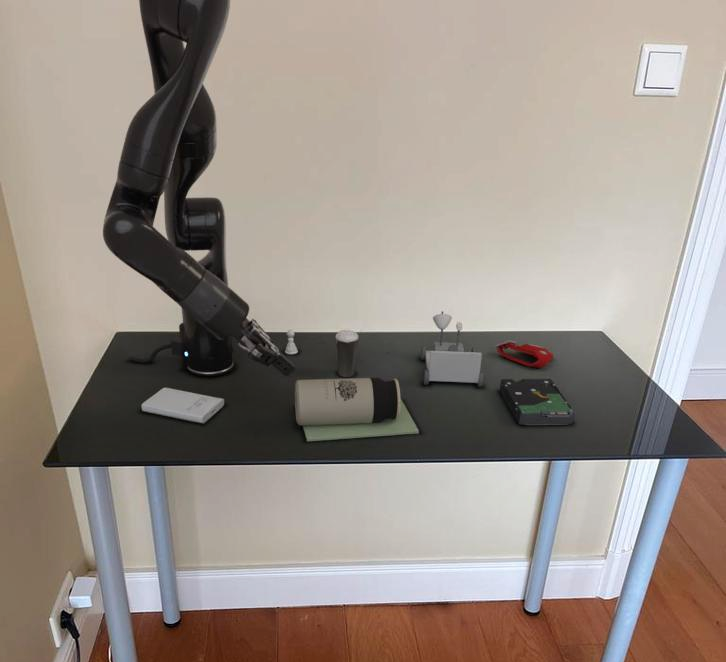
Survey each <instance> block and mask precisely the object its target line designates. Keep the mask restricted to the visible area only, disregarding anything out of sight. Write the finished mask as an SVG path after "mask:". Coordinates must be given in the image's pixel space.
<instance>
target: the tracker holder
mask: <svg viewBox="0 0 726 662" xmlns="http://www.w3.org/2000/svg"><path fill="white" fill-rule="evenodd" d="M516 344H517V342H516V341H514V340H510V339H509V340H504V341H501V342H499V343H497V344H495V345H494V347H495V348H496V349H497V352H498V353H499V354H500V355H501V356H503V357H504V358H506V359H508V360H510V361H513V362H514V363H517V364H518V363H519V365H520V364H521V365H523V366H525V367H530V368H536V369H542V368H544V367H545V366H547V365H548V363H550V361H551V360H552V359H554V354H553V353H552V352H549V350H548V349H547V348H546V347H543V346H541V345H539V344H534V343H524V344H522V345H516ZM508 348H509V349H510V350H513V351H515V352H519V353H523V354H525V355H530V356H533V357H535V358H536V359H537V360H536V361H534V362H533V363H532V362H529V361H525V360H523V359H520V358H518V357H514V356H512V355H511V354H509V353H507V352H506V351H505V350H507V349H508Z"/></svg>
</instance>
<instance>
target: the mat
mask: <svg viewBox="0 0 726 662" xmlns="http://www.w3.org/2000/svg"><path fill="white" fill-rule="evenodd" d="M301 426H302V429H303V432H304V435H305V439H306V442H318V441H319V442H321V441H332V440H335V441H336V440H346V439H359V438H360V439H361V438H375V437H387V436H388V437H389V436H401V435H402V436H403V435H415V434H420V430H419V429H418V427H417V425H416V422H415V421H414V419H413V418H412V416H411V414H410V412H409V411H408V409H407V407H406V405H405V403H404V402H403V400H402V399H401V407H400V416H399V419H398V420H397V421H395V420H394V419H385V420H383V421H382V422H380V423H357V424H329V425H301Z"/></svg>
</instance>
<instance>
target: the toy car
mask: <svg viewBox="0 0 726 662" xmlns="http://www.w3.org/2000/svg"><path fill="white" fill-rule="evenodd" d="M440 312H441V313H439V314H438V313H437V314H435V315H433V316H432V320H433V322H434V324H435V326H436V327H437V328H438V329H439V330H440V339H439V341H434V343H433V348H434V350H427V346H426V345H421V349H420V360H421V361H425V366H426V369H424V370H423V385H424V386H429V384H430V382H446V383H447V382H450V383H451V382H452V383H454V382H455V383H473V384H474V383H475V384H476V386H477V387H478V388H483V386H484V377H485V376H484V372H483V371H481V366H482V357H483V354H482V352H478V349H477V347H472V348H471V351H465V349H464V344H463V343H462V342H460V332H461V331H463V323H462V322H461V321H460V322H459V321H456V325H455V328H456V331H457V335H456V342H446V341H443V334H444V330H446V329H447V328H448V326H449V325H450V323H451V321H452V319H453V317H452V315H450V314H446V313H444V311H442V310H441V311H440Z"/></svg>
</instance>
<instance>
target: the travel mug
mask: <svg viewBox="0 0 726 662" xmlns="http://www.w3.org/2000/svg"><path fill="white" fill-rule="evenodd" d="M401 400H402V398H401V388H400V384H399V380H398V379H397V378H393V379H391V380H387V381H386V380H384V379H382V378H380V377H358V378H354V377H353V378H321V379H320V378H318V379H297V380H296V381H295V383H294V407H295V421H296V423H297V424H298V426H302V425H329V424H357V423H380V422H382V421H383V420H385V419H394V420H395V421H397V420H398V419H399V416H400V407H401Z"/></svg>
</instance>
